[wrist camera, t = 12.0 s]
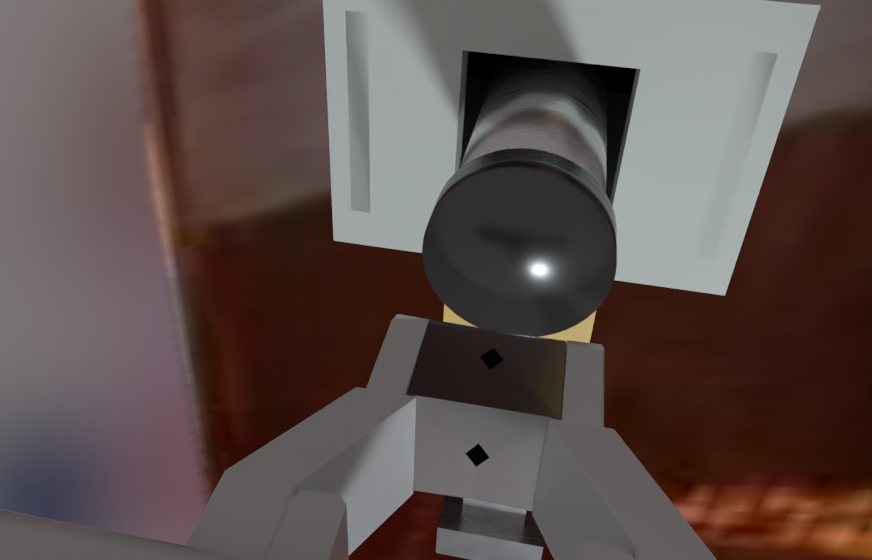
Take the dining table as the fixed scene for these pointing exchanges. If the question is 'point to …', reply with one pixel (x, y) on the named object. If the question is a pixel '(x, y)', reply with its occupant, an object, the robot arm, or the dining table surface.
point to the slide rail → (487, 531)
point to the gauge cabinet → (626, 114)
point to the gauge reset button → (528, 205)
